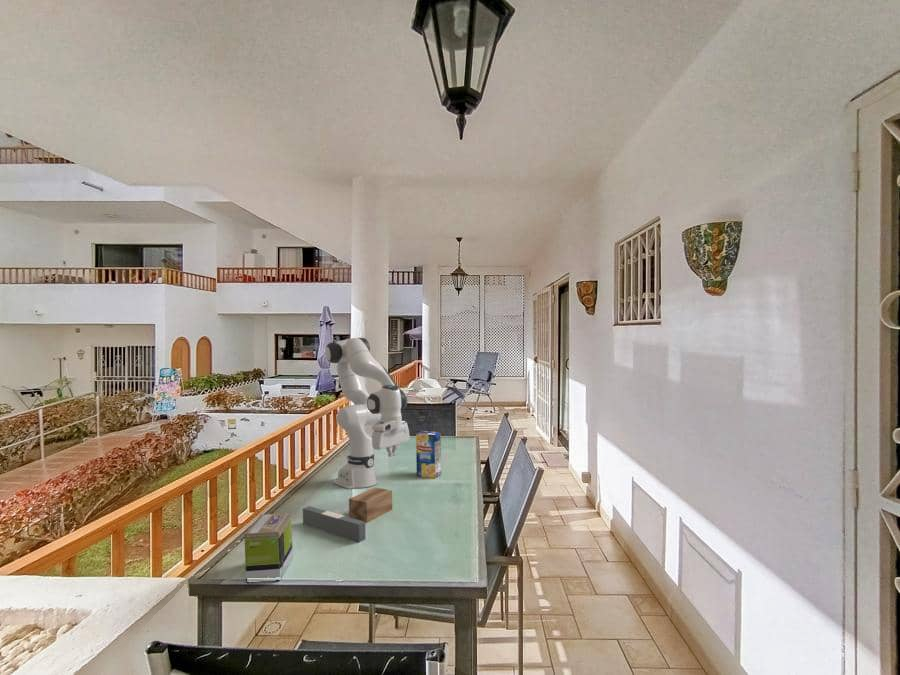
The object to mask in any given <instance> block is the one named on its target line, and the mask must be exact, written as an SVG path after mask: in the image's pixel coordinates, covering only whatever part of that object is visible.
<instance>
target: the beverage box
mask: <svg viewBox="0 0 900 675" xmlns="http://www.w3.org/2000/svg"><path fill="white" fill-rule="evenodd" d="M415 448H416V449H415V450H416V451H415V452H416V453H415V454H416V455H415V457H416V458H415V460H416V476H417V477H422V478H428V479H436V478H439V477H440V476H442V434H441V432H440V431H429V430H428V431H427V430H421V431H419V432H416V433H415Z"/></svg>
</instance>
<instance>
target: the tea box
mask: <svg viewBox="0 0 900 675" xmlns="http://www.w3.org/2000/svg"><path fill="white" fill-rule="evenodd" d="M292 521H293V520H292V512H283V513H272V514H271V513H270V514H260V515H259V517H257V519H256V520H255V521H254V523H252V525H251V526H250V527H249V529H248V530H247V531H246V532H245V533H244V559H245V560H244V562H245V564H244V566H245V579H246V578H268V577H269V578H276V577H281V576H282V574H283V573H284V574H285V572H286V571H285V569H286V568H287V569H288V567H287V566H289V565H290V563H291V562H290V561H292V560H291V559H293V558H294V550H293V546H294V545H293V529H292V528H293V524H292ZM288 564H289V565H288ZM287 569H286V570H287ZM284 571H285V572H284ZM284 574H283V575H284ZM282 577H283V576H282Z"/></svg>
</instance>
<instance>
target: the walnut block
mask: <svg viewBox="0 0 900 675" xmlns="http://www.w3.org/2000/svg"><path fill="white" fill-rule="evenodd" d="M392 510H393V490H391V489H387V488H380V487H373V488H370V489H368V490H365V491H364V492H362V493H360V494H357V495H355V496H352V497H350V498H348V517H350V518H353V519H357V520H361V521H364V522H365V524H368V523H370V522H371V521H373V520H375V519H377V518H379V517H381V516H383V515H385V514H386V513H388V512H390V511H392Z"/></svg>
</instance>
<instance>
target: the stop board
mask: <svg viewBox="0 0 900 675" xmlns="http://www.w3.org/2000/svg"><path fill="white" fill-rule="evenodd" d="M304 524H305V525H304ZM302 525H304V526H307V525H308V526H307V527H310V526H311V528H313V527H314V529H316V528H317V530H319V529H320V531H323V532H325V533H326V532H327V533H330V534H332V535H335V536H338V537H341V538H344V539H349V540H352V541H355V542H357V543H361V542H363V541H364V540H366V539H367V538H366V537H367V536H366V523H365V522H364V521H361V520H357V519H353V518H350V517H349V516H347V515H346V516H345V515H344V514H340V513H336V512H333V511H329V510H324V509H321V508H317V507H313V506H311V505H309V506H306V507H303V508H302Z"/></svg>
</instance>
